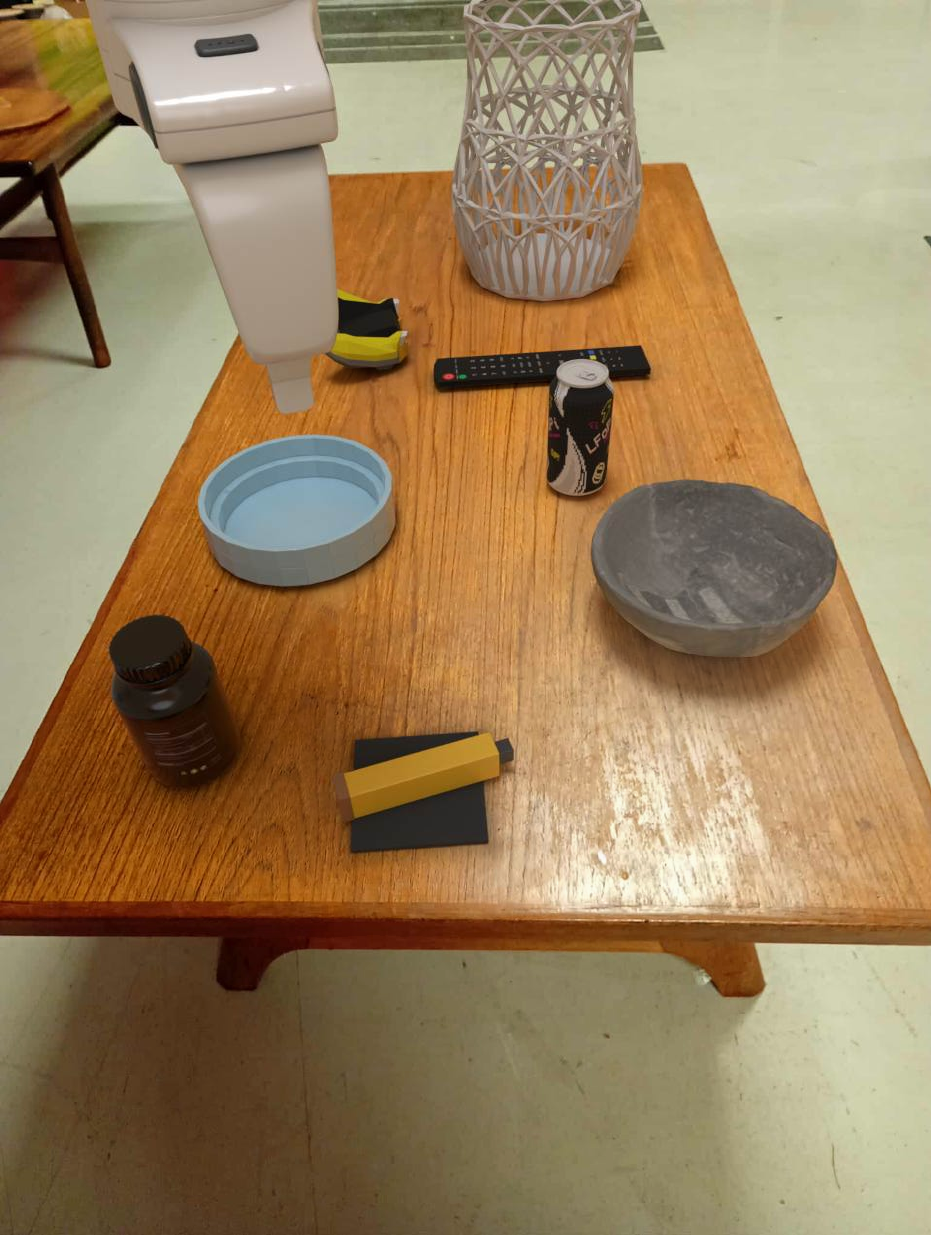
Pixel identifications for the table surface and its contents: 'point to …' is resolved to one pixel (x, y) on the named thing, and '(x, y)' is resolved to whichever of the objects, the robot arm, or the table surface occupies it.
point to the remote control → (534, 366)
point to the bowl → (712, 566)
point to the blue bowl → (298, 509)
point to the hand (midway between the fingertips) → (277, 359)
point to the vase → (547, 159)
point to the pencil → (420, 775)
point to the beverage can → (579, 427)
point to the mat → (419, 804)
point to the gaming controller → (368, 333)
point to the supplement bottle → (172, 703)
